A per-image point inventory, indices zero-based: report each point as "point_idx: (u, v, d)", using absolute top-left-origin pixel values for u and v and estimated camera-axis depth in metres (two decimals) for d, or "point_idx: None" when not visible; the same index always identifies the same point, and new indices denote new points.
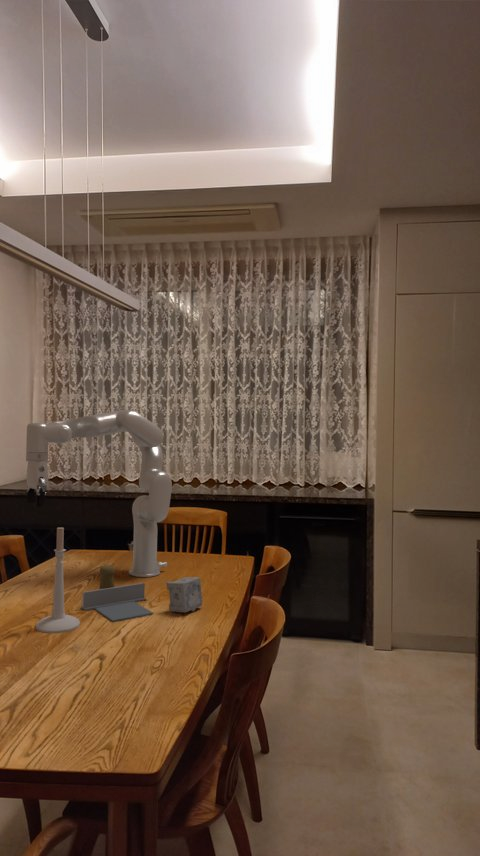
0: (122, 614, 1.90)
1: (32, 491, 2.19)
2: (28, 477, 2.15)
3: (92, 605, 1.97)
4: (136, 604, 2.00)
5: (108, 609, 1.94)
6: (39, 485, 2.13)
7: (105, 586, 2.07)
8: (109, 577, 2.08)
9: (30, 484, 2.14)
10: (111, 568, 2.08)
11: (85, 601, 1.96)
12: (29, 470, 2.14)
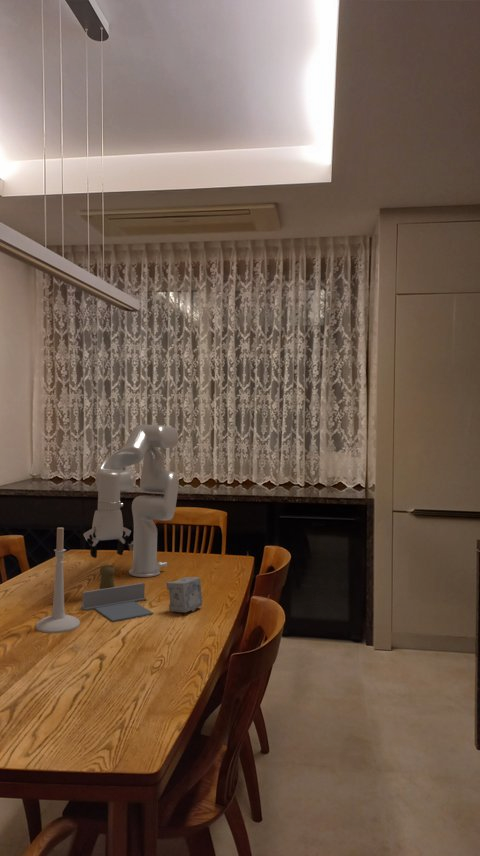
0: (122, 614, 1.90)
1: None
2: (106, 529, 2.06)
3: (92, 605, 1.97)
4: (136, 604, 2.00)
5: (108, 609, 1.94)
6: None
7: (105, 586, 2.07)
8: (109, 577, 2.08)
9: (111, 535, 2.07)
10: (111, 568, 2.08)
11: (85, 601, 1.96)
12: (110, 521, 2.07)
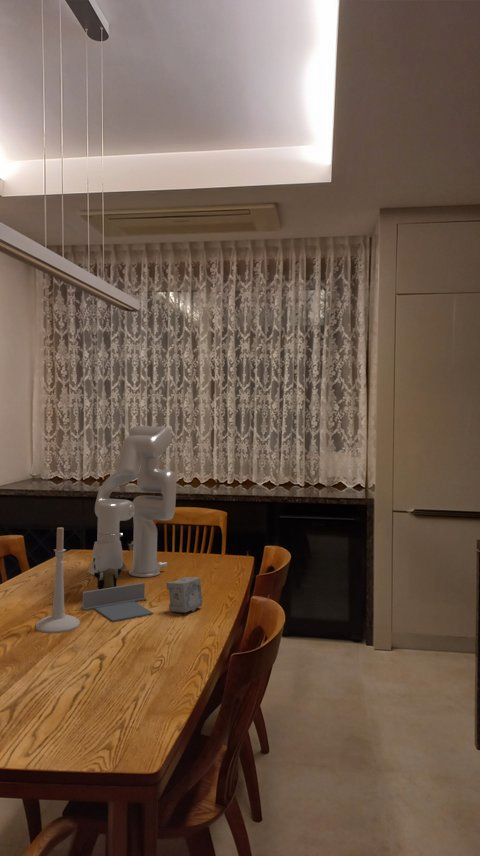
0: (122, 614, 1.90)
1: None
2: (106, 560, 2.07)
3: (92, 605, 1.97)
4: (136, 604, 2.00)
5: (108, 609, 1.94)
6: None
7: (105, 586, 2.07)
8: (109, 577, 2.08)
9: (110, 566, 2.08)
10: (111, 568, 2.08)
11: (85, 601, 1.96)
12: (109, 552, 2.07)
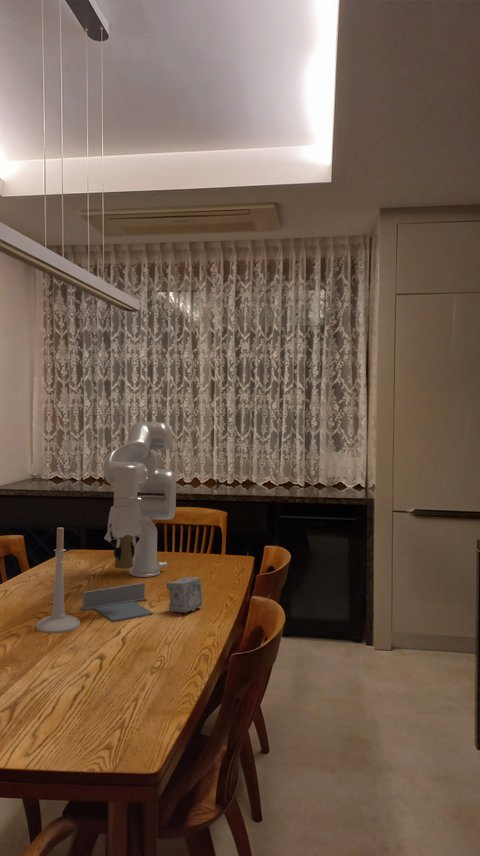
0: (122, 614, 1.90)
1: None
2: (123, 526, 1.92)
3: (92, 605, 1.97)
4: (136, 604, 2.00)
5: (108, 609, 1.94)
6: None
7: (122, 554, 1.92)
8: (126, 544, 1.93)
9: (128, 533, 1.93)
10: (129, 535, 1.93)
11: (85, 601, 1.96)
12: (127, 518, 1.92)
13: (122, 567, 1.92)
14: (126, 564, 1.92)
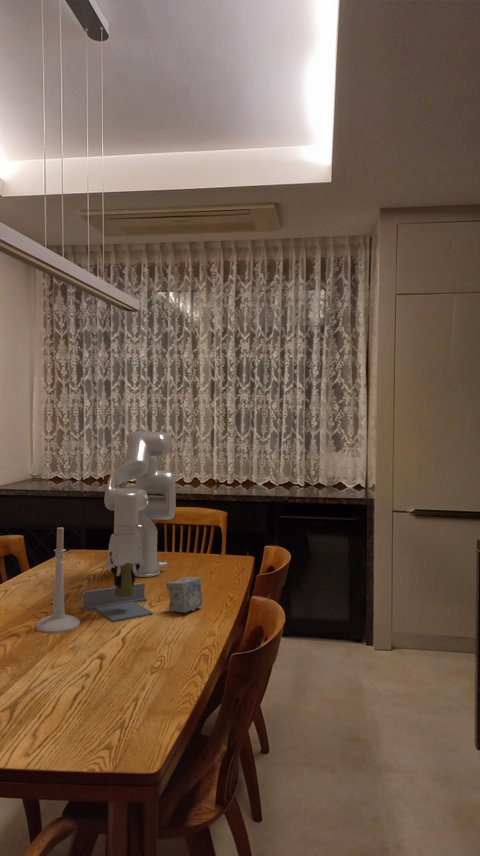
0: (122, 614, 1.90)
1: None
2: (123, 554, 1.91)
3: (92, 605, 1.97)
4: (136, 604, 2.00)
5: (108, 609, 1.94)
6: None
7: (123, 582, 1.91)
8: (127, 572, 1.92)
9: (128, 561, 1.92)
10: (129, 563, 1.92)
11: (85, 601, 1.96)
12: (127, 545, 1.91)
13: (122, 595, 1.91)
14: (126, 592, 1.91)
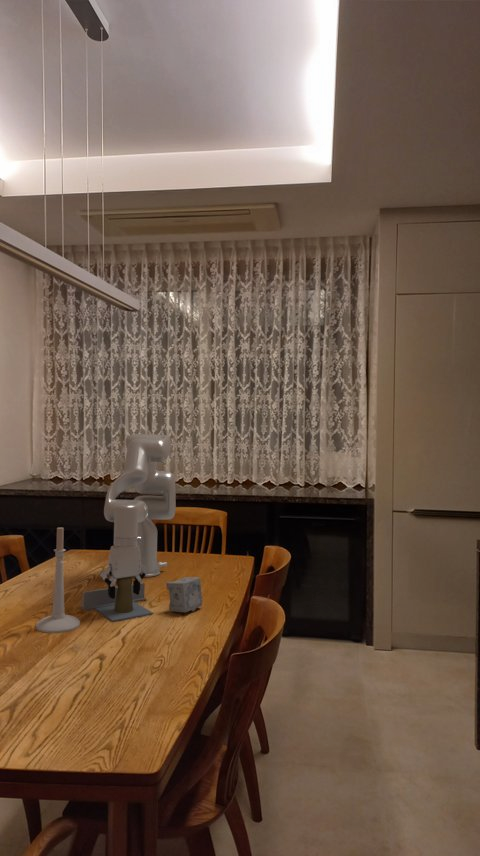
0: (122, 614, 1.90)
1: None
2: (123, 566, 1.91)
3: (92, 605, 1.97)
4: (136, 604, 2.00)
5: (108, 609, 1.94)
6: None
7: (122, 598, 1.92)
8: (126, 588, 1.92)
9: (128, 573, 1.92)
10: (128, 579, 1.93)
11: (85, 601, 1.96)
12: (127, 558, 1.92)
13: (122, 611, 1.91)
14: (125, 609, 1.92)
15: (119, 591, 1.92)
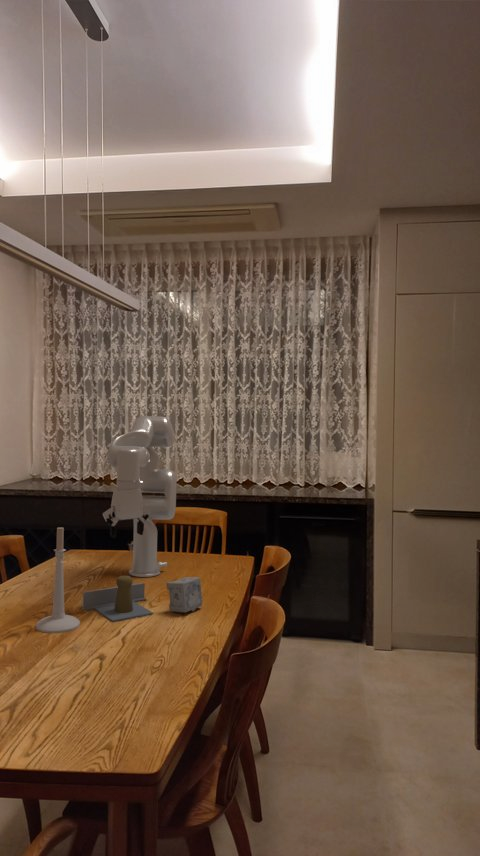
0: (122, 614, 1.90)
1: None
2: (126, 508, 1.98)
3: (92, 605, 1.97)
4: (136, 604, 2.00)
5: (108, 609, 1.94)
6: None
7: (122, 598, 1.92)
8: (126, 589, 1.92)
9: (130, 515, 1.99)
10: (128, 579, 1.93)
11: (85, 601, 1.96)
12: (130, 500, 1.98)
13: (122, 611, 1.91)
14: (125, 609, 1.92)
15: (119, 591, 1.92)
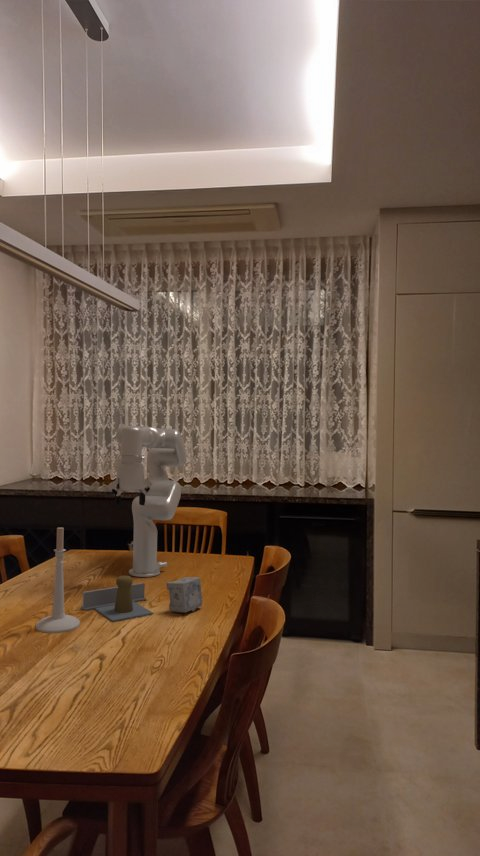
0: (122, 614, 1.90)
1: None
2: (129, 480, 2.20)
3: (92, 605, 1.97)
4: (136, 604, 2.00)
5: (108, 609, 1.94)
6: None
7: (122, 598, 1.92)
8: (126, 589, 1.92)
9: (133, 486, 2.21)
10: (128, 579, 1.93)
11: (85, 601, 1.96)
12: (133, 473, 2.20)
13: (122, 611, 1.91)
14: (125, 609, 1.92)
15: (119, 591, 1.92)
